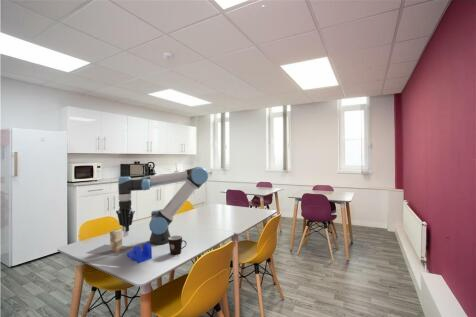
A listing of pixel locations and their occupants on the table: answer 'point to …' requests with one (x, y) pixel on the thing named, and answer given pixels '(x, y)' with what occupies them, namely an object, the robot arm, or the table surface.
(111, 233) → the birch pillar
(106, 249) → the charcoal mat
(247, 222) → the table surface
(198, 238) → the table surface
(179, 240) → the coffee mug
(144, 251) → the bracket
